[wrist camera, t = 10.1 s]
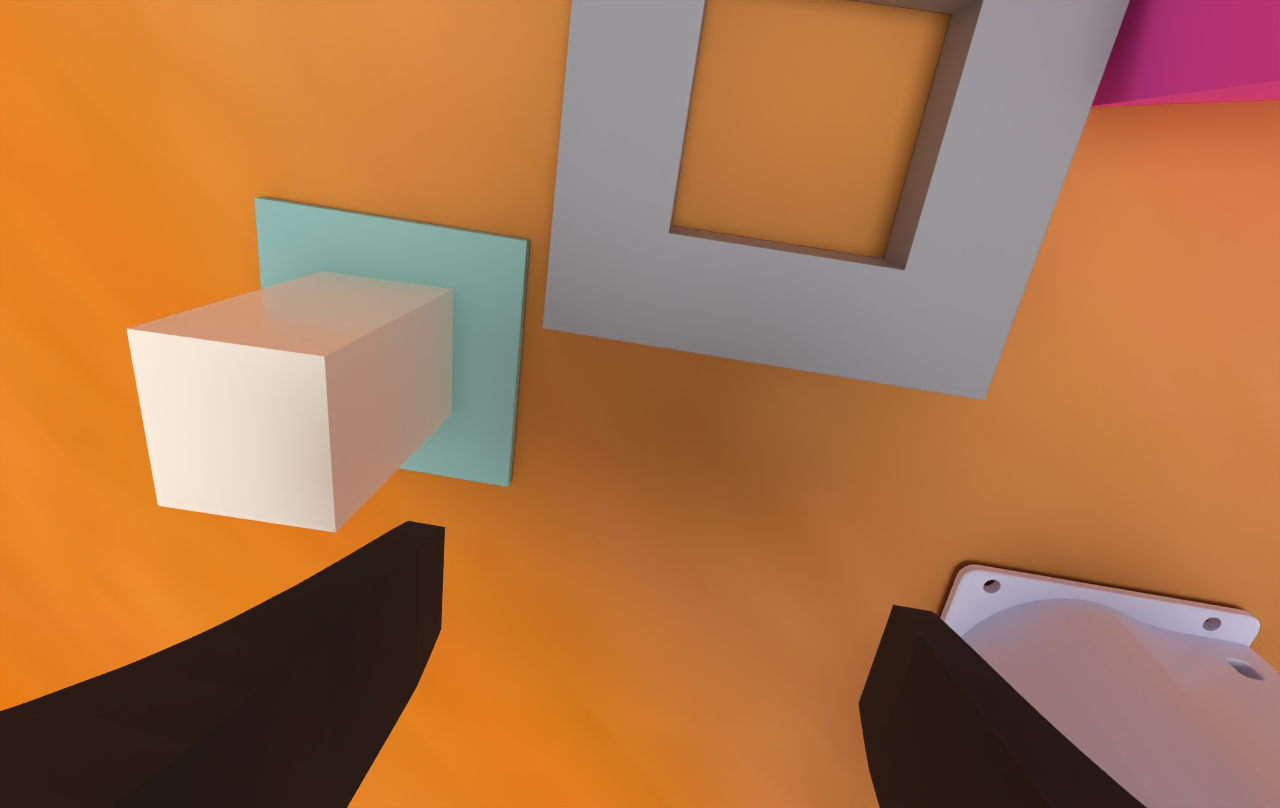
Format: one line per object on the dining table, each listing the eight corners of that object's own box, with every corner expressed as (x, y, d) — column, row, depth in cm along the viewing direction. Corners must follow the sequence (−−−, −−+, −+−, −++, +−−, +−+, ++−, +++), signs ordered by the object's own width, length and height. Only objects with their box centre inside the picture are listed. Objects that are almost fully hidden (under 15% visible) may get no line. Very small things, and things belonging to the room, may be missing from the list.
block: (453, 288, 19) (324, 357, 12) (451, 413, 20) (335, 532, 14) (321, 270, 19) (126, 328, 13) (329, 396, 21) (157, 505, 14)
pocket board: (1125, -117, 15) (1187, -157, 13) (956, 376, 19) (983, 400, 17) (606, -189, 15) (593, -238, 13) (557, 311, 19) (542, 327, 18)
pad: (530, 239, 19) (526, 241, 18) (511, 481, 22) (507, 487, 21) (263, 197, 19) (254, 197, 19) (279, 441, 22) (272, 446, 21)
